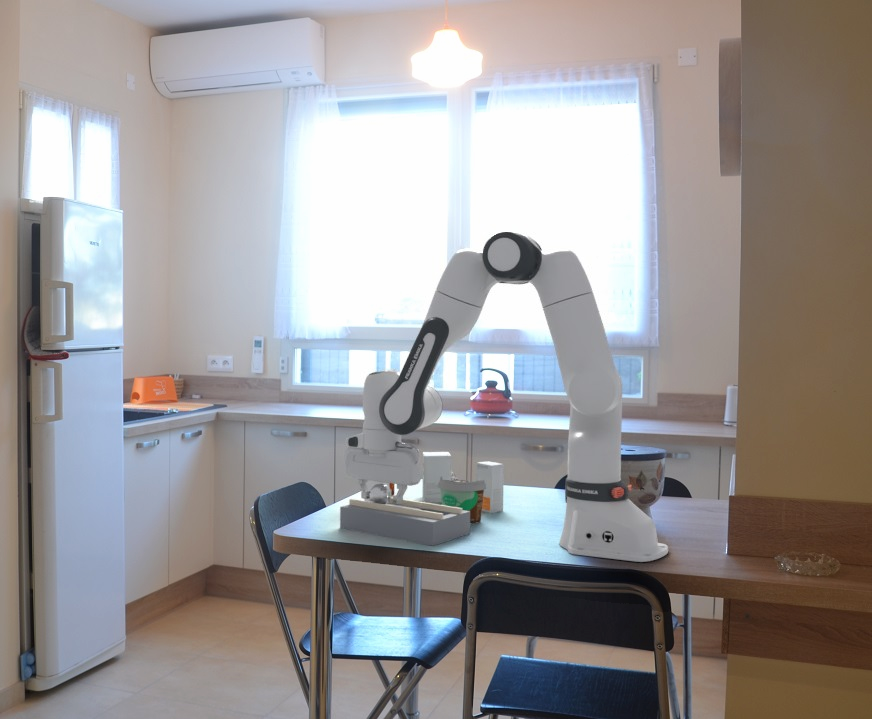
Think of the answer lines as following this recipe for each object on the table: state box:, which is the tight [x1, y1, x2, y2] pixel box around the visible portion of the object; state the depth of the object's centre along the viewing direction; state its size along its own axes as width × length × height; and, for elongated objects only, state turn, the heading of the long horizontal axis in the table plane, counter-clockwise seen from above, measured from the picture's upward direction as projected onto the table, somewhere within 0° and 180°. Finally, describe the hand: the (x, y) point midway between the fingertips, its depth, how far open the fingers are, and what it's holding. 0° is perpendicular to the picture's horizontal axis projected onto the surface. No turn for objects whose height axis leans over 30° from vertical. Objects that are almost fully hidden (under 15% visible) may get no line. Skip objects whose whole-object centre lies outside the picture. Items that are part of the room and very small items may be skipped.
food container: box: [437, 476, 486, 524], centre depth 204 cm, size 12×6×10 cm, turn 62°
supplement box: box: [422, 451, 452, 503], centre depth 230 cm, size 7×7×13 cm
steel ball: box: [370, 483, 391, 504], centre depth 199 cm, size 5×5×5 cm
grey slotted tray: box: [339, 498, 471, 547], centre depth 195 cm, size 26×14×6 cm, turn 54°
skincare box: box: [475, 460, 505, 514], centre depth 218 cm, size 6×4×12 cm
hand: (381, 500), depth 199 cm, fingers open, 8 cm apart
